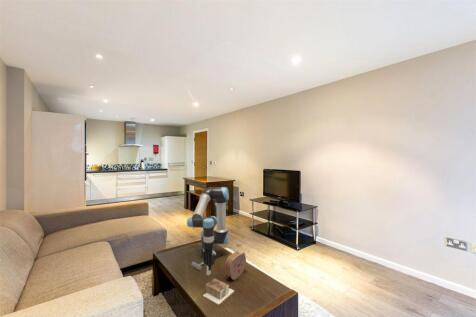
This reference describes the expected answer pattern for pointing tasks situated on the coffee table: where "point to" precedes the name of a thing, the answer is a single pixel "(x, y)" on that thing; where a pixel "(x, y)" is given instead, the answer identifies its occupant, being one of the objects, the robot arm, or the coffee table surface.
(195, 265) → the rubber mallet
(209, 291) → the wooden block
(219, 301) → the felt mat
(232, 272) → the face sculpture
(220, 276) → the coffee table surface
